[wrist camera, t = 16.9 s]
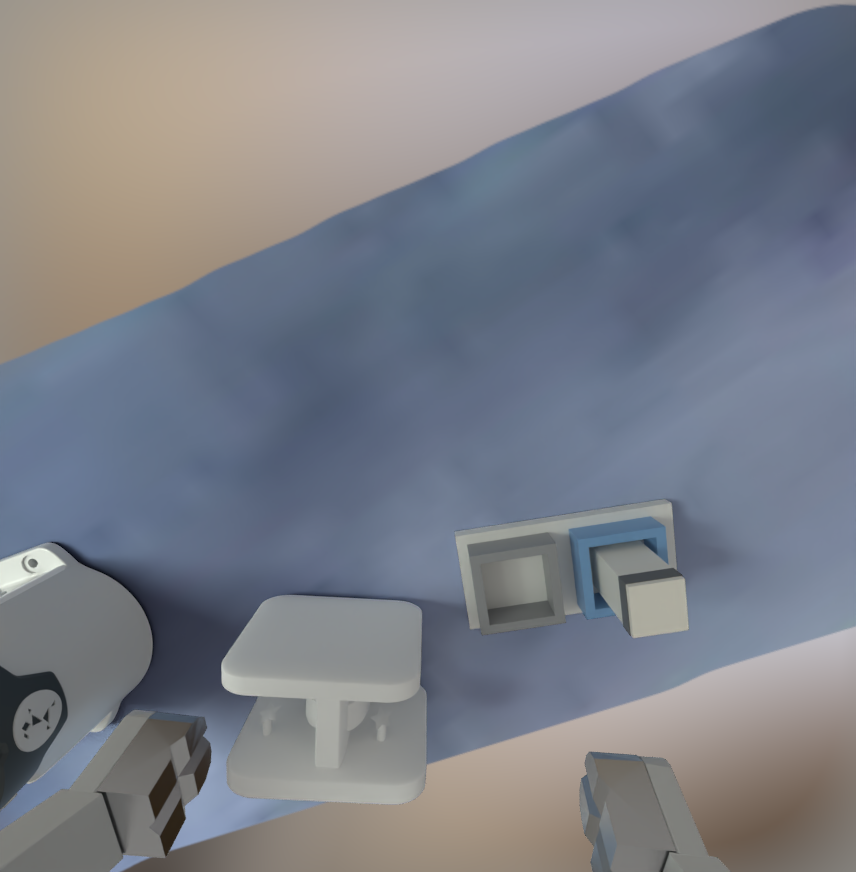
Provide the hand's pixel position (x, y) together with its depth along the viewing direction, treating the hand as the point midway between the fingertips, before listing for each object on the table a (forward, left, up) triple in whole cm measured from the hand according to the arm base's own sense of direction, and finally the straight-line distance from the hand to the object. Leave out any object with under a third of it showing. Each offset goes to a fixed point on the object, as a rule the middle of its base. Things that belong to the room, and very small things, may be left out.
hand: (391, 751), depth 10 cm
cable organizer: (-9, -17, -31) cm, 37 cm away
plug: (+16, -12, -30) cm, 35 cm away
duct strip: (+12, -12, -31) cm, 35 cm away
